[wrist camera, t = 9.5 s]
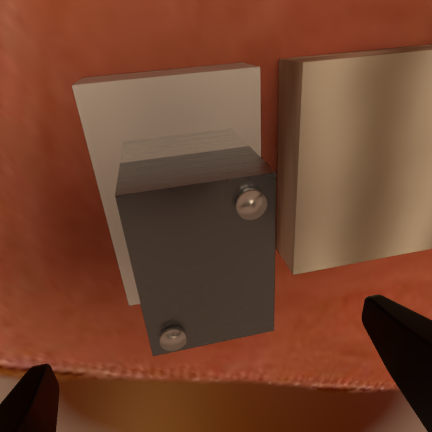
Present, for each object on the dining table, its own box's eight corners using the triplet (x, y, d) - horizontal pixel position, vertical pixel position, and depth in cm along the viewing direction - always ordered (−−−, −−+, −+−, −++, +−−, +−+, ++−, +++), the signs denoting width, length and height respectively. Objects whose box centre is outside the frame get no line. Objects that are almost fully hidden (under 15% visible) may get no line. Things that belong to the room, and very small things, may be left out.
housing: (231, 128, 16) (279, 175, 10) (237, 251, 19) (276, 336, 14) (123, 141, 15) (113, 199, 10) (149, 266, 19) (153, 362, 13)
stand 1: (242, 62, 17) (260, 66, 15) (248, 253, 23) (262, 280, 21) (82, 77, 16) (71, 85, 14) (130, 274, 22) (129, 305, 19)
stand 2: (447, 42, 19) (495, 43, 16) (405, 225, 25) (436, 247, 22) (279, 58, 18) (303, 62, 15) (276, 248, 23) (293, 274, 21)
